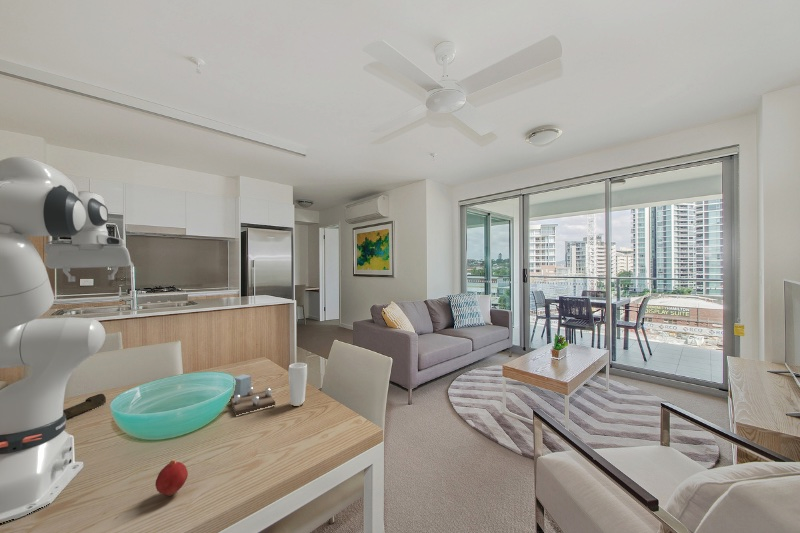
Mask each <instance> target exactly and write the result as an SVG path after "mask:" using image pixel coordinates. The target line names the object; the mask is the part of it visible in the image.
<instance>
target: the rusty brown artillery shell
mask: <svg viewBox="0 0 800 533" xmlns="http://www.w3.org/2000/svg"><path fill="white" fill-rule="evenodd" d="M106 398H107V397H106V395H105V394H104V393H98V394H96V395H93V396H89V397H87V398H85V401H82V402H80V403H78V404H75V405H73V406H70V407H68V408H65V409H63V413H65V415H66V420H68V419H70V418H73V417H75V416H78V415H80V414H82V413H84V412H87V411H88V410H91V411H93V410H92V409H94V410H96V409H97V407H98V408H99V406H100V407H102V406H103V405H105V404H106V403H107V399H106ZM104 403H105V404H104ZM102 404H103V405H102ZM101 405H102V406H101ZM95 408H96V409H95ZM88 412H89V411H88Z"/></svg>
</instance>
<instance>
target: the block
mask: <svg viewBox="0 0 800 533" xmlns="http://www.w3.org/2000/svg"><path fill="white" fill-rule="evenodd" d="M234 378H235V380H236V385H235V391H234V395H236V394H240V396H243V395H247V389H248V387H252V376H251V375H249V374H240V375H237V376H234V377H233V379H234Z"/></svg>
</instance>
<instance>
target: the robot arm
mask: <svg viewBox="0 0 800 533" xmlns="http://www.w3.org/2000/svg"><path fill="white" fill-rule="evenodd" d="M108 221H109V213H108V208H107V206H106V202H105V199H104V197H103V196H102V195H100V194H98V193H96V192H91V191H83V190H82V191H78V188H77V186H76V184H75V183H74V182H73V180H71V179H70V178H69V177H68V176H67V175H66V174H64V173H63V172H61V171H60V170H59V169H56V168H55V167H54V166H52V165H49V164H47V163H45V162H43V161H40V160H37V159H33V158H31V157H25V156H12V157H6V158H4V159H1V160H0V369H8V368H17V367H26V366H27V367H29V366H31V371H30V374H29V375H28V376H26V377H23V378H21V379H20V380H17V381H15V382H13V383H10V384H9V385H6V386H5V387H3V388H2V389H0V522H1V521H8V520H11V519H14V520H17V519H19V518H22V517H24V516H28V515H30V514H32V513H33V512H32V511H34V510H36V509H38V508H41V507H43V508H45V507H47V506H48V505H47V504H49V503H50V504H51V503H52V502H54V500H55V499H56V498H58V496H59V494H61V492H62V491H63V490H64V489H65V488H66V487H67V486H68V485H69V483H71V482H72V480H73V479H74V478H75V477H76V475H78V473H80V472H81V470H82V469H83V468H84V462H83V461H75V439H74V438H75V436H74V435H72V434H70V433H68V432H67V431H66V430H65V429H66V423H67V419H66V415H65V413H63V410H64V404H65V402H64V401H65V394H66V389H67V385H68V381H69V380H70V377H71V376H72V374H73V373H74V372H75V370H77V368H78V367H79V366H80V365H82V363H83V362H85V361H86V360H87V359H89V358H90V357H92V356H93V355H95V354H97V352H99V351H100V350H101V348H102V346H103V345H104V343H105V341H106V336H107V334H106V329H105V328H104V326H103V324H102V323H101V322H100V321H99V320H97V319H95V318H89V317H87V318H86V317H78V316H77V317H75V316H74V317H73V316H67V317H65V316H64V317H51V318H41V316H43V315H45V313H47V312H48V311H49V310H50V309H51V307H52V306H53V305H54V301H55V295H54V290H53V288H52V285H51V282H50V278H49V274H48V272H47V268H49V269H52V270H54V269H62V272H63V274H65V275H66V277H67V282H68V283H72V282H73V283H74V282H76V281H77V280H76V275H74V276H72V275H71V273H69V272H71V269H84V268H111V270H113V271H112V273H111V274H107V280H108V281H113V280H115V275H116V274H117V272H118V270H119V268H121V267H122V268H124V267H128V268H129V267H130V266H131V265H132V260H131V254H130V252H129V250H128V248H127V247H126V241H125V240H124V239H123V238H120V237H115V236H110V235H109V231H108V228H107V223H108ZM27 237H52V238H66V237H70V238H71V240H70V239H69V240H67V239H66V240H65V239H64V240H57V239H55V240H53V239H52V240H50V241H47V242H46V243H45V244H44V252H45V254H46V256H45V263H44V261H43V259H42V257H41V255H40V253H39V252H38V250H37V249H36V247H35V245H34V244H33V243H32V241H31V240H30V239H29V238H27ZM46 267H47V268H46ZM50 504H49V505H50ZM46 505H47V506H46ZM44 506H45V507H44ZM41 509H42V508H41ZM31 512H32V513H31ZM29 513H30V514H29ZM27 514H28V515H27ZM11 521H12V520H11ZM8 522H9V521H8Z"/></svg>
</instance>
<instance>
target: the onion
mask: <svg viewBox="0 0 800 533" xmlns="http://www.w3.org/2000/svg"><path fill="white" fill-rule="evenodd" d="M188 473H189V472H188V469H187V466H186V465H185V464H183V463H181V462H180V461H176V459H175V458H174V459H171V461H170V462H168V463H167V464H166V465H165V466H164V467H163V468H162V469H161V470H160V472H158V475H157V478H156V480H155V485H154V486H155V489H156V491H157V492H158V493H159V494H161V495H165V496H170V495H172V496H174V495H175V494H176V493H177V492H178V491H179V490H180V489H181V488H182V487H183V486H184V485H185V482H186V481H187V480H188V475H189V474H188ZM173 494H174V495H173ZM170 497H171V496H170Z"/></svg>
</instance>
